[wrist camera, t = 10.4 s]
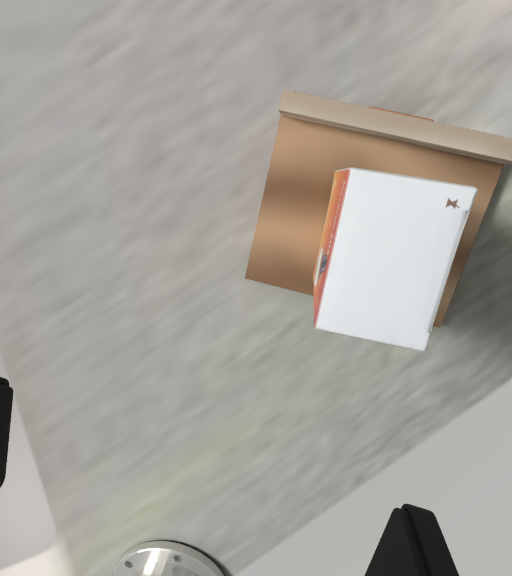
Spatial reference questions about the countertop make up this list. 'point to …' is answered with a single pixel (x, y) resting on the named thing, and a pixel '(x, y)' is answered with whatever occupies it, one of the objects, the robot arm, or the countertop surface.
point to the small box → (387, 255)
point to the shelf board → (365, 155)
